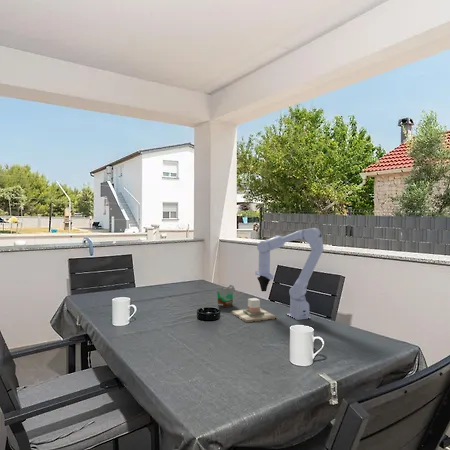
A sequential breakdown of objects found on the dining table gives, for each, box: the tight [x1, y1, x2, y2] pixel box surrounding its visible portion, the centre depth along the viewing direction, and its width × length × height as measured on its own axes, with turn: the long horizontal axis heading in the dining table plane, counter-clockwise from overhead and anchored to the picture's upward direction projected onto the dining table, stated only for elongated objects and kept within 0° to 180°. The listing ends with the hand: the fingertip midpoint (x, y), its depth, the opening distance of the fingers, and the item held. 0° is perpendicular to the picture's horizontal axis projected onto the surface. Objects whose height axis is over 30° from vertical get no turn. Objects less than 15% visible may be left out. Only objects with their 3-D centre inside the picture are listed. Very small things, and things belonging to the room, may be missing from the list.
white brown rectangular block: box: [247, 297, 261, 313], centre depth 175 cm, size 4×4×7 cm
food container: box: [216, 284, 236, 308], centre depth 194 cm, size 12×6×10 cm, turn 143°
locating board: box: [231, 307, 277, 323], centre depth 175 cm, size 16×16×2 cm
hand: (263, 291), depth 184 cm, fingers closed
